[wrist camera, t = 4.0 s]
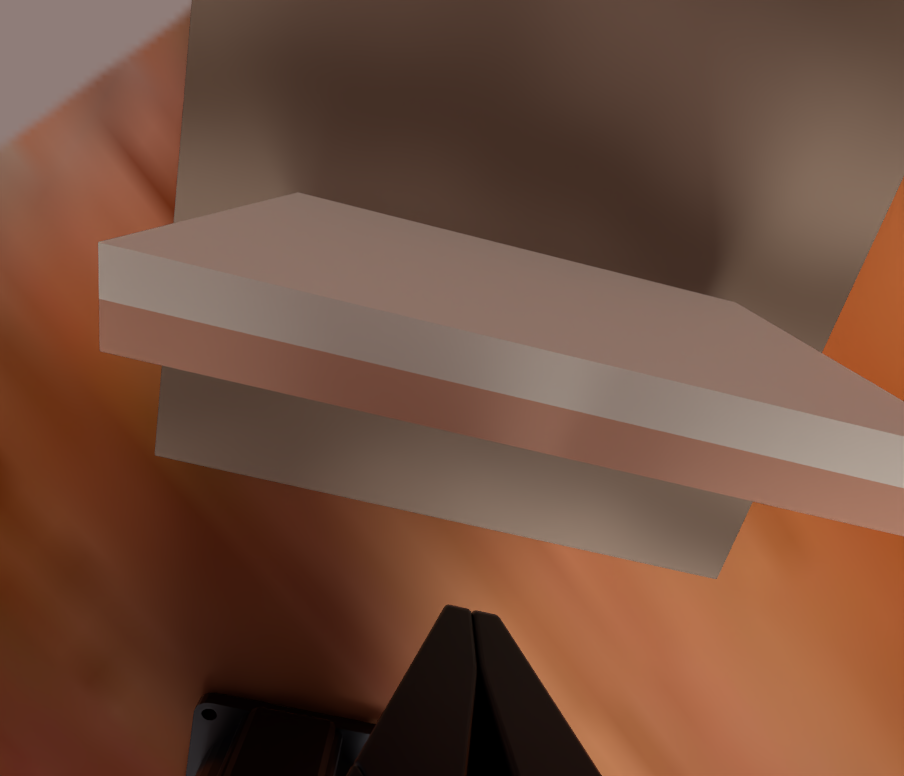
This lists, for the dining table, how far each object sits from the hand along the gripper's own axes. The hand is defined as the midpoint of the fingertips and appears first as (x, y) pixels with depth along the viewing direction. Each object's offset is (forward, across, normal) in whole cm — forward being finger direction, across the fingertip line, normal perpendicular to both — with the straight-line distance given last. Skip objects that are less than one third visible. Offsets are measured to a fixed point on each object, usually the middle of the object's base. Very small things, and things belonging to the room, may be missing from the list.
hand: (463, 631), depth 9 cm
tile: (+2, 0, -4) cm, 5 cm away
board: (+8, 0, -7) cm, 10 cm away
